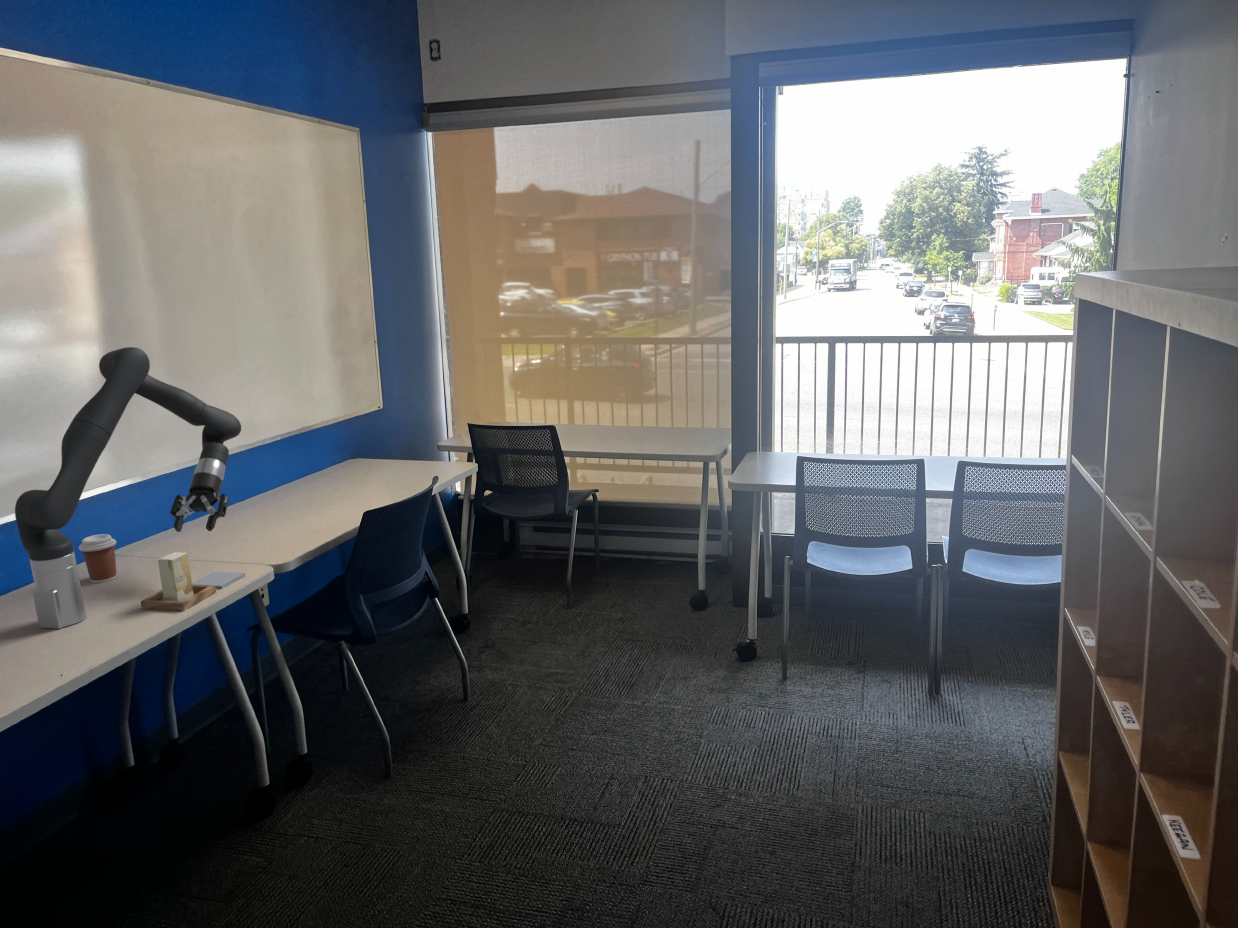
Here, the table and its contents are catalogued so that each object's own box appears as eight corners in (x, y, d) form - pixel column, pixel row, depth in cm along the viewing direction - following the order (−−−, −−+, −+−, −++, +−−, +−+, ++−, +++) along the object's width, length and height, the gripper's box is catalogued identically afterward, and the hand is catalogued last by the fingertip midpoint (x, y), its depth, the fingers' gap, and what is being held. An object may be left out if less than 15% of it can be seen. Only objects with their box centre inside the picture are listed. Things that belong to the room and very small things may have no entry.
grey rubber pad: (222, 588, 236) (221, 585, 236) (189, 587, 238) (189, 584, 238) (245, 575, 246) (244, 572, 246) (213, 574, 248) (213, 571, 248)
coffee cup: (85, 577, 250) (78, 536, 247) (122, 570, 254) (115, 530, 251) (84, 586, 242) (76, 545, 239) (122, 580, 246) (114, 539, 243)
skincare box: (178, 605, 225) (171, 560, 223) (163, 604, 226) (156, 559, 224) (195, 596, 232) (188, 551, 229) (180, 595, 232) (173, 551, 230)
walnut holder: (184, 610, 222) (183, 603, 221) (141, 608, 224) (140, 601, 224) (216, 592, 233) (215, 585, 233) (175, 590, 236) (174, 583, 236)
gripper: (176, 471, 242) (160, 524, 234) (227, 470, 241) (212, 523, 233) (189, 485, 249) (173, 537, 240) (238, 484, 248) (225, 535, 239)
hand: (193, 530), depth 236 cm, fingers open, 8 cm apart
